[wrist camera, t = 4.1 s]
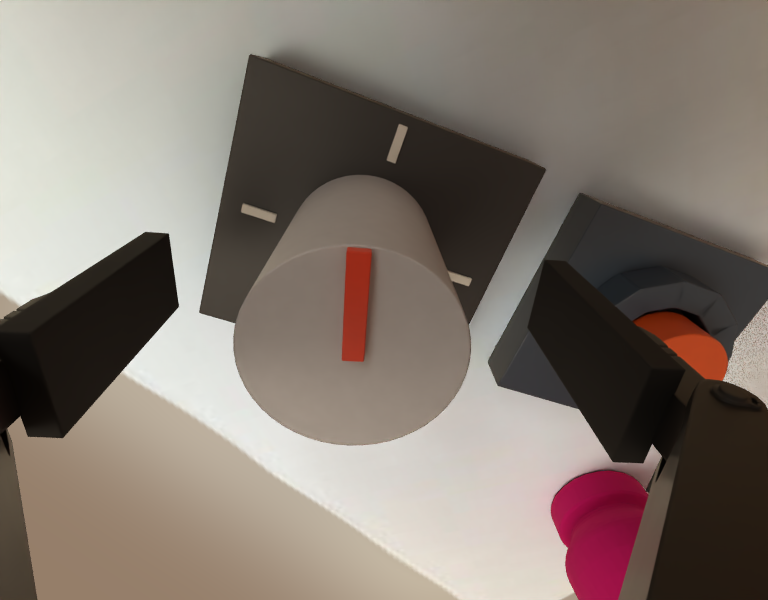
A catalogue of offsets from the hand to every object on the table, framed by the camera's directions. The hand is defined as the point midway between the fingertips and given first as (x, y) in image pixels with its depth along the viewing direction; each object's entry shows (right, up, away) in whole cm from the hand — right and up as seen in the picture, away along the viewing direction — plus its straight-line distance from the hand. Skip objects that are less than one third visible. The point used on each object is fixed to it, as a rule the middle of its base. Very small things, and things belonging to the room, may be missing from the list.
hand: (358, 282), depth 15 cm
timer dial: (0, +2, +3) cm, 4 cm away
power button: (+13, -3, +5) cm, 14 cm away
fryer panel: (0, +3, +6) cm, 6 cm away
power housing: (+13, -1, +8) cm, 15 cm away
